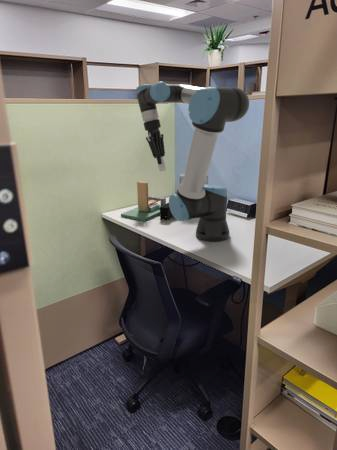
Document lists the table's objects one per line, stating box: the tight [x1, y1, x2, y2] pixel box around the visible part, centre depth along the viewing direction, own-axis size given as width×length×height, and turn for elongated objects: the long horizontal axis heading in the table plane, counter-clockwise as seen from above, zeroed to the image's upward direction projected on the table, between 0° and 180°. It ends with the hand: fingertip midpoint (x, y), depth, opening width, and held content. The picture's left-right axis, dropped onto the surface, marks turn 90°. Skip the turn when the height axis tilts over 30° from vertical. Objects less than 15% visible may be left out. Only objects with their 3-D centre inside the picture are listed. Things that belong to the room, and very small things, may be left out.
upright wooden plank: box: [136, 181, 161, 212], centre depth 191 cm, size 15×6×16 cm, turn 147°
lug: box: [148, 195, 167, 206], centre depth 198 cm, size 3×10×5 cm, turn 57°
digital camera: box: [159, 201, 174, 222], centre depth 182 cm, size 10×5×7 cm, turn 153°
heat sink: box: [149, 202, 160, 212], centre depth 193 cm, size 8×8×3 cm
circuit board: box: [120, 204, 161, 222], centre depth 191 cm, size 25×16×2 cm, turn 147°
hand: (162, 170), depth 166 cm, fingers closed
